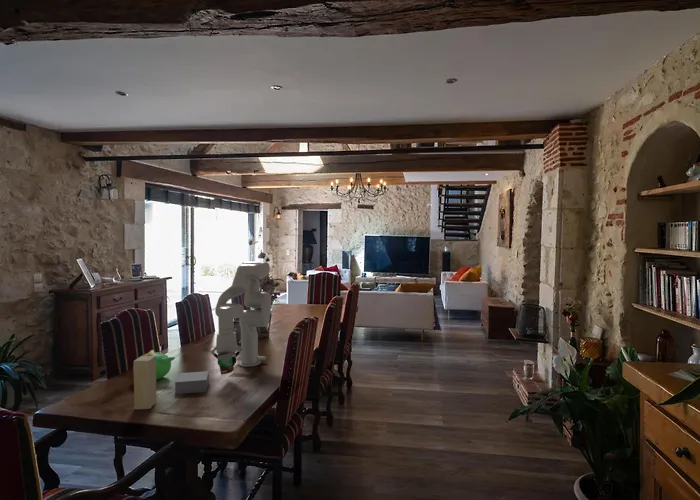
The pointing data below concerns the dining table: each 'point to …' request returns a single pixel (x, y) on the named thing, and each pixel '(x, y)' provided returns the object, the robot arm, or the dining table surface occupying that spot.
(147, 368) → the beige tall block
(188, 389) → the grey block
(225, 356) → the food container
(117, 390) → the dining table surface
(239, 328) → the planter
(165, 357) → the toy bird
